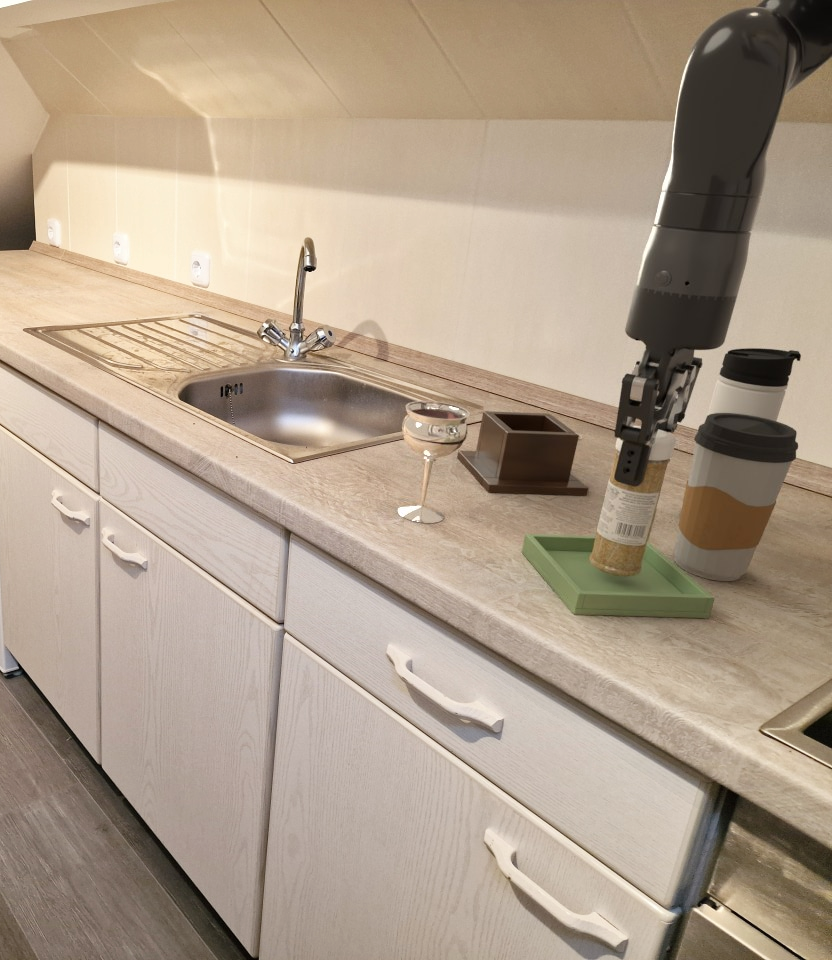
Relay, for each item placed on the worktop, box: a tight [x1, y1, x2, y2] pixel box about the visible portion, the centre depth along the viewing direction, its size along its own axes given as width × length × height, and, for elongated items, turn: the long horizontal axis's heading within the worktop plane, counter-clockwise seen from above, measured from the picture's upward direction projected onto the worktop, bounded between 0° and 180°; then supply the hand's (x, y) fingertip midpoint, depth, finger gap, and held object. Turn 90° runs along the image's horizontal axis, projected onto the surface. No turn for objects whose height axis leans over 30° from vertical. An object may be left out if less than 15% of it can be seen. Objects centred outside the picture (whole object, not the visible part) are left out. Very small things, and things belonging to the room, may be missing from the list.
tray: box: [521, 533, 716, 619], centre depth 81 cm, size 12×12×2 cm
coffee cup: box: [673, 413, 799, 582], centre depth 82 cm, size 8×8×15 cm
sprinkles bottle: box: [589, 425, 677, 576], centre depth 78 cm, size 5×5×14 cm
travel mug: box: [678, 347, 802, 517], centre depth 92 cm, size 6×7×20 cm
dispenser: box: [456, 410, 589, 497], centre depth 106 cm, size 12×12×7 cm
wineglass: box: [397, 400, 471, 524], centre depth 92 cm, size 7×7×12 cm
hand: (637, 475), depth 77 cm, fingers closed on sprinkles bottle, 4 cm apart
